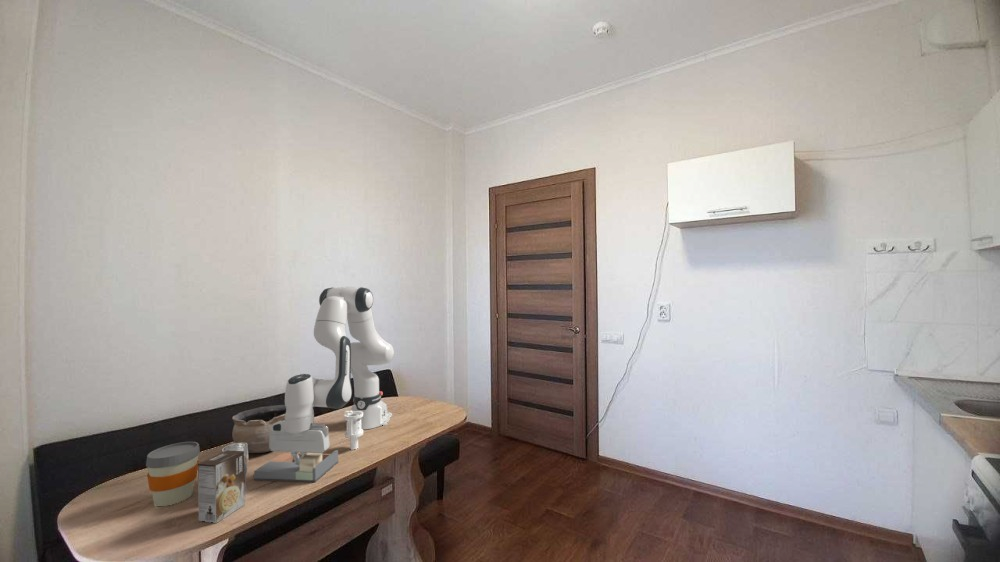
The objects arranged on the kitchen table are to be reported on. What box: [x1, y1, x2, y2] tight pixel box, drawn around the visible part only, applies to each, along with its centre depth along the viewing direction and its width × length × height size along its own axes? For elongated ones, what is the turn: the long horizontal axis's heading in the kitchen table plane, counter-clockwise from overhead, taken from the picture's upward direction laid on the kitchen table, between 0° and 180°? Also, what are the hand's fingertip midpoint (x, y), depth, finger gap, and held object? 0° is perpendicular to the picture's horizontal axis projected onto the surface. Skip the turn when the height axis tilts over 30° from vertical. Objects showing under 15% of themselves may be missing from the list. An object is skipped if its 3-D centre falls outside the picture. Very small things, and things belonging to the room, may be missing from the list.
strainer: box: [343, 410, 364, 451], centre depth 148 cm, size 7×7×15 cm
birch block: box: [300, 452, 323, 472], centre depth 126 cm, size 5×5×4 cm
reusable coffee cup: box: [145, 441, 201, 507], centre depth 114 cm, size 13×13×15 cm
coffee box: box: [197, 450, 246, 524], centre depth 106 cm, size 9×6×16 cm
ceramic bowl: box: [231, 404, 286, 454], centre depth 150 cm, size 22×22×15 cm
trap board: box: [253, 449, 339, 483], centre depth 130 cm, size 14×22×4 cm, turn 84°
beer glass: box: [221, 442, 249, 495], centre depth 115 cm, size 7×7×15 cm
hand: (299, 463), depth 126 cm, fingers closed
